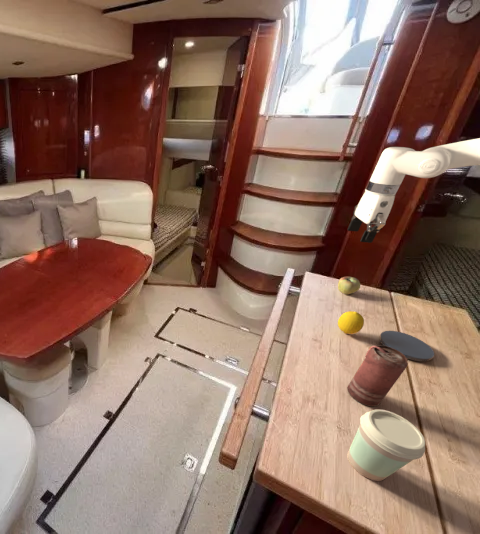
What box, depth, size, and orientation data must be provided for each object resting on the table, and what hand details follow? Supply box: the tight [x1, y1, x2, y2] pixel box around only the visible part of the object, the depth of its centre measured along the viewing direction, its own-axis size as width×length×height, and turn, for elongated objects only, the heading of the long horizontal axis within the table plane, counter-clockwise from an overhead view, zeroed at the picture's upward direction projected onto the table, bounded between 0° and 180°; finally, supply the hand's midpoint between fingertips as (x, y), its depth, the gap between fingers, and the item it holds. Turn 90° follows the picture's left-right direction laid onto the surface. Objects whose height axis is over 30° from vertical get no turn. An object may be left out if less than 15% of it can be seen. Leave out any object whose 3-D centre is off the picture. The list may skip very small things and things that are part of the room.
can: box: [346, 344, 409, 407], centre depth 69 cm, size 6×6×14 cm
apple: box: [337, 276, 361, 295], centre depth 108 cm, size 6×8×6 cm
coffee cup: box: [346, 409, 426, 482], centre depth 57 cm, size 8×8×12 cm
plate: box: [378, 330, 435, 362], centre depth 85 cm, size 11×11×2 cm
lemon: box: [337, 310, 365, 335], centre depth 89 cm, size 6×6×8 cm
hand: (358, 236), depth 107 cm, fingers open, 9 cm apart
